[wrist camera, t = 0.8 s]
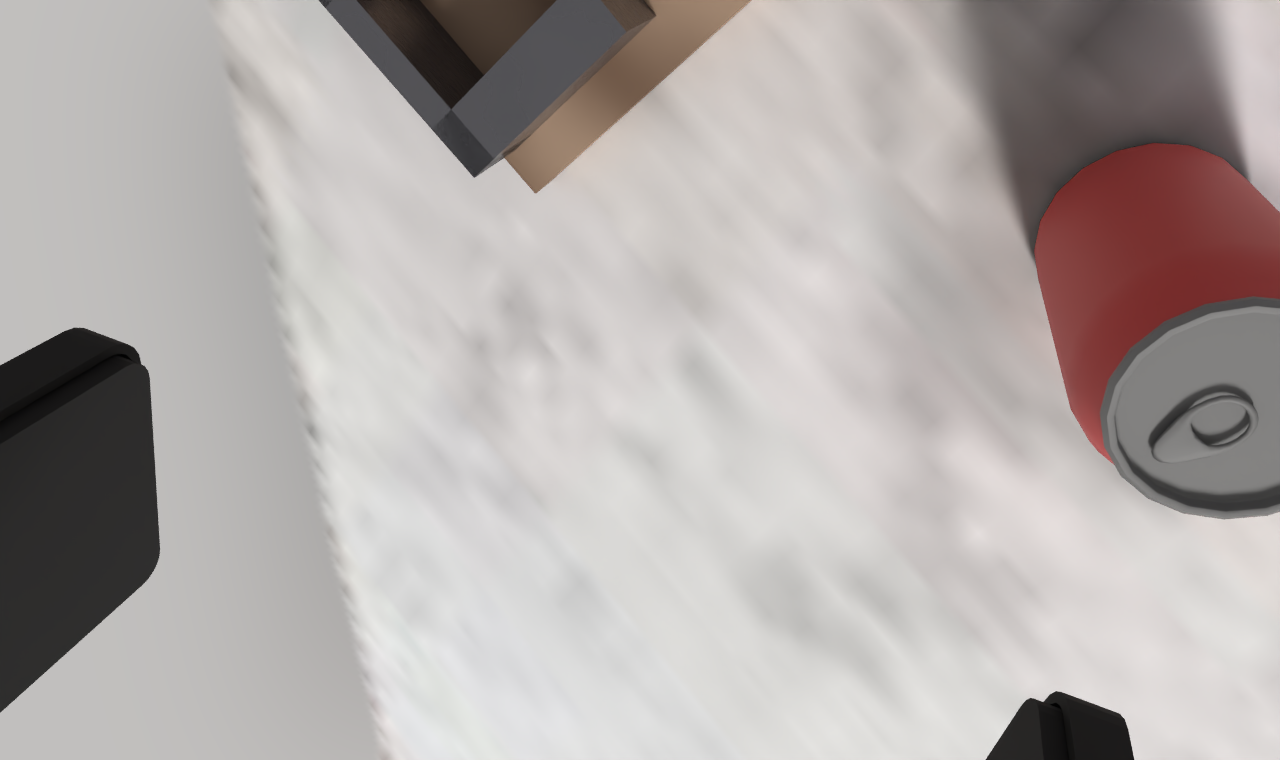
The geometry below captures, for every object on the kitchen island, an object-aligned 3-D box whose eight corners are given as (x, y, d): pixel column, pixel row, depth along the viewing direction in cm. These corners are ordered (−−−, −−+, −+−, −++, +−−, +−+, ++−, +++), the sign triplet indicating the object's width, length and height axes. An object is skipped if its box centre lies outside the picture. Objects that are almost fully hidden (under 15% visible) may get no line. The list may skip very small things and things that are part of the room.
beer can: (991, 225, 32) (1017, 390, 22) (1179, 92, 29) (1310, 214, 19) (1107, 364, 33) (1182, 582, 23) (1300, 251, 30) (1487, 448, 20)
